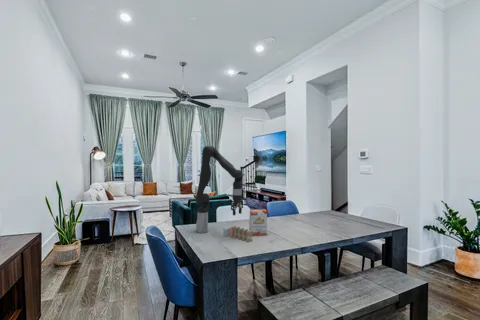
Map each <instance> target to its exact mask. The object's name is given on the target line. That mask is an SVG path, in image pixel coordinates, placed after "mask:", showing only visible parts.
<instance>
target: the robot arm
mask: <svg viewBox="0 0 480 320" xmlns="http://www.w3.org/2000/svg"><path fill="white" fill-rule="evenodd" d="M211 158H213V159H215V160H216V161H217V162H218V164H219V165H220V166H221V168H222V169H224V170H225V171H226V172H227V173H228V175H230V176H231V177H232V178H233V179H234V181H233V182H232V201H233V202H231V203H230V210H231V211H232V216H236V211H237V209H238V214H240V215H241V214H242V213H243V212H242V209H243V208H244V201H243V189H242V187H243V186H242V183H243V182H242V181H243V177H244V174H243V172H242V170H240V169H236V168H235V167H234V164H232V163H231V162H230V161H228V160H227V158H225V157H224V156H223V155H222V154H221V153H220V152H219V151H218V149H216V147H214V146H212V145H206V146H204V147H203V148H202V157H201V165H200V166H201V167H200V172H199V180H198V186H197V187H198V188H197V190H196V194H195V203H196V205H200V207H198V208H197V210H196V211H197V220H196V223H195V224H196V226H195V228H196V229H195V231H196V233H198V234H205V233H208V231H209V209H210V196H209V194H208V193H207V192H205V193H204V191H205V189H206V187H207V186H208V184H209V183H210V181H211V176H212V169H211Z"/></svg>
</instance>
